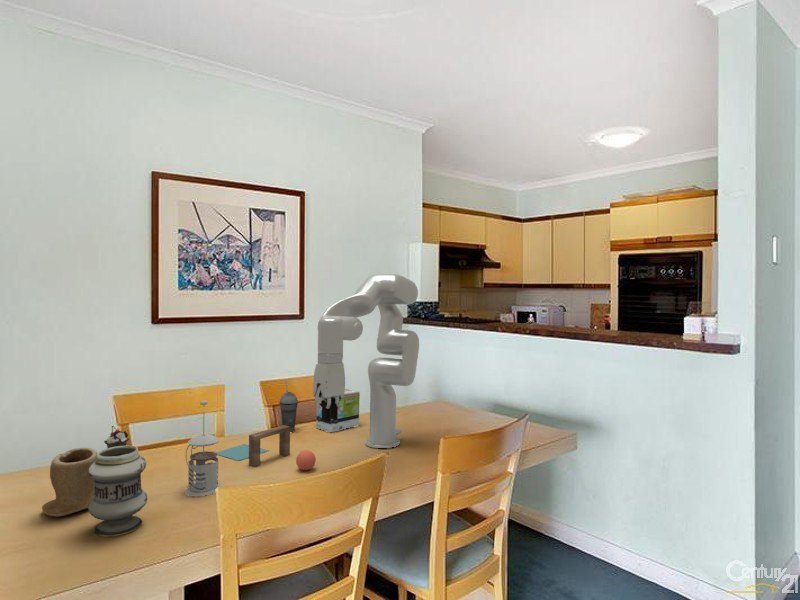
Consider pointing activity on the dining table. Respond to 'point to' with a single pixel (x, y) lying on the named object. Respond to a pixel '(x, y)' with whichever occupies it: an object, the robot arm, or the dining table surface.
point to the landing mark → (238, 452)
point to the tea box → (342, 413)
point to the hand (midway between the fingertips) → (329, 419)
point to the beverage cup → (288, 409)
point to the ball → (305, 460)
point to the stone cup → (71, 482)
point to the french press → (202, 466)
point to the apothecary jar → (117, 490)
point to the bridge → (255, 438)
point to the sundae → (117, 439)
